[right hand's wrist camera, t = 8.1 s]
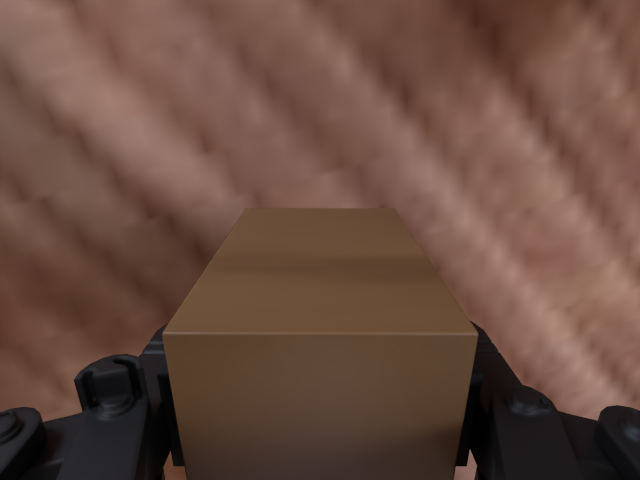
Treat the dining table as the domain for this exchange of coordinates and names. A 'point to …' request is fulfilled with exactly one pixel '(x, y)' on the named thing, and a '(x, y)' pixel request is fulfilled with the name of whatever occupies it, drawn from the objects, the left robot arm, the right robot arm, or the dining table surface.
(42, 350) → the dining table surface
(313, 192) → the dining table surface
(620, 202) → the dining table surface
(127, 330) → the dining table surface
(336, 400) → the bar
